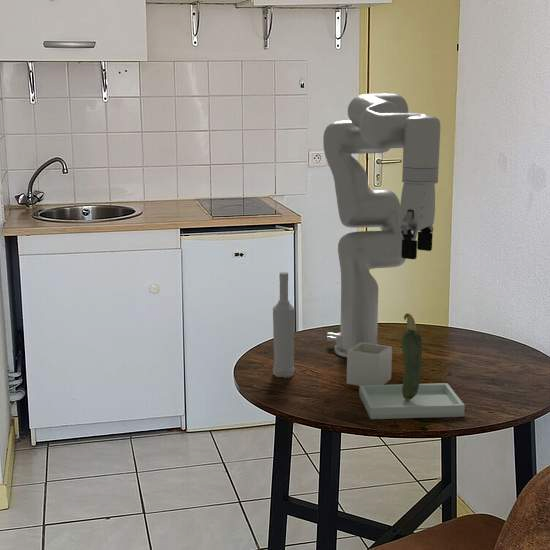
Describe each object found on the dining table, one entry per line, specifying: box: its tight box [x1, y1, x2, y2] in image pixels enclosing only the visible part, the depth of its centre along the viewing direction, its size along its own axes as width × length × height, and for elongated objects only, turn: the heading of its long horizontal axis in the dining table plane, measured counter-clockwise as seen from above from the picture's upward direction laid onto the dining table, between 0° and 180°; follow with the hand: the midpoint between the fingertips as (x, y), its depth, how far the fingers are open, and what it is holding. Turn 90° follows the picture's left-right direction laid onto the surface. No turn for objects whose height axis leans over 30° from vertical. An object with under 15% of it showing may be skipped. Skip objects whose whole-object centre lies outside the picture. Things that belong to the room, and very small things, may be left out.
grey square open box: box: [346, 342, 393, 387], centre depth 213 cm, size 8×8×8 cm
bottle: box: [272, 271, 296, 379], centre depth 216 cm, size 5×5×25 cm
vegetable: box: [401, 312, 423, 401], centre depth 196 cm, size 4×4×20 cm
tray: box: [358, 382, 466, 420], centre depth 198 cm, size 20×14×2 cm
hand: (416, 254), depth 197 cm, fingers open, 9 cm apart
